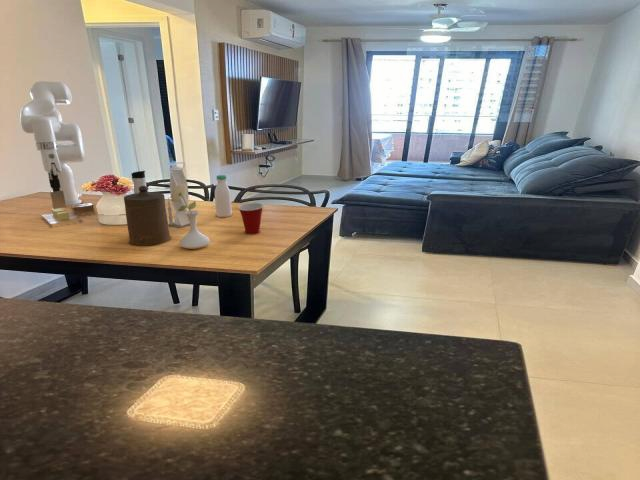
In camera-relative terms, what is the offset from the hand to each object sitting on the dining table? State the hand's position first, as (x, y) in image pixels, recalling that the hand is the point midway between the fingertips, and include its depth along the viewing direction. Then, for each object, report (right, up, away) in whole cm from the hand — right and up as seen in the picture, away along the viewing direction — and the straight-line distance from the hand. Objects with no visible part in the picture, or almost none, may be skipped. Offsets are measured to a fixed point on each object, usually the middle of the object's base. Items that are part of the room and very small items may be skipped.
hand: (55, 187), depth 172 cm
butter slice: (+2, -14, +3) cm, 14 cm away
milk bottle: (+72, -12, +19) cm, 75 cm away
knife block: (+3, -11, +15) cm, 19 cm away
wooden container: (+51, -24, -18) cm, 59 cm away
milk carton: (+56, -17, +3) cm, 59 cm away
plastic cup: (+90, -20, -6) cm, 92 cm away
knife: (0, -9, +3) cm, 10 cm away
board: (-2, -14, +7) cm, 16 cm away
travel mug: (+27, -8, +28) cm, 39 cm away
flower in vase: (+71, -27, -25) cm, 79 cm away
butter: (-4, -12, +8) cm, 15 cm away
